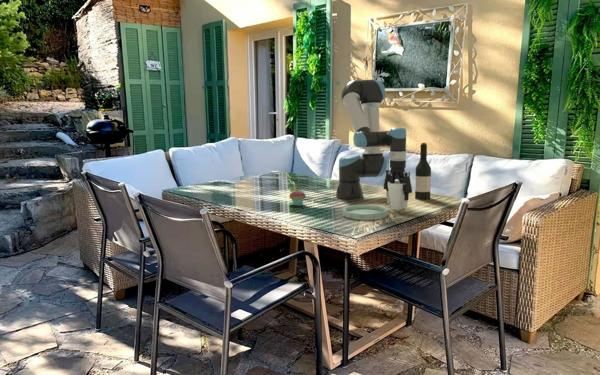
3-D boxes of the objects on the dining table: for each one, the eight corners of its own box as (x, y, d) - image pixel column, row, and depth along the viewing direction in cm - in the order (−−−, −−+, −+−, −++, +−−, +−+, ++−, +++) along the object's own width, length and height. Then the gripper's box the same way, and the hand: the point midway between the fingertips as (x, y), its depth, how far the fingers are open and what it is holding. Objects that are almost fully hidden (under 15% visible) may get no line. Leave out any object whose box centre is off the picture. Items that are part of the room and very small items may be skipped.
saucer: (335, 217, 206) (335, 211, 206) (353, 208, 223) (353, 203, 223) (377, 221, 196) (377, 216, 195) (393, 212, 213) (393, 207, 212)
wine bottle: (427, 200, 238) (429, 143, 233) (412, 199, 243) (413, 143, 238) (432, 197, 245) (433, 142, 240) (417, 196, 250) (418, 142, 245)
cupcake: (294, 206, 231) (293, 183, 229) (286, 203, 238) (286, 181, 236) (308, 204, 234) (308, 182, 232) (301, 201, 242) (300, 180, 240)
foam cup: (407, 210, 215) (407, 184, 213) (387, 210, 217) (387, 183, 215) (406, 206, 224) (406, 180, 222) (387, 206, 226) (387, 180, 224)
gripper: (376, 158, 224) (375, 202, 228) (409, 162, 206) (408, 210, 209) (387, 157, 228) (386, 200, 232) (420, 161, 210) (419, 207, 214)
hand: (397, 205), depth 221 cm, fingers closed on foam cup, 9 cm apart
